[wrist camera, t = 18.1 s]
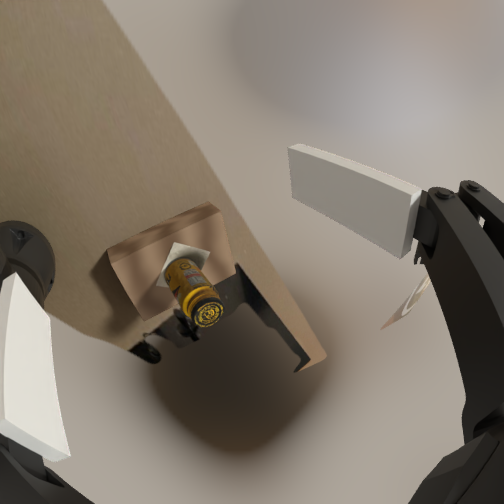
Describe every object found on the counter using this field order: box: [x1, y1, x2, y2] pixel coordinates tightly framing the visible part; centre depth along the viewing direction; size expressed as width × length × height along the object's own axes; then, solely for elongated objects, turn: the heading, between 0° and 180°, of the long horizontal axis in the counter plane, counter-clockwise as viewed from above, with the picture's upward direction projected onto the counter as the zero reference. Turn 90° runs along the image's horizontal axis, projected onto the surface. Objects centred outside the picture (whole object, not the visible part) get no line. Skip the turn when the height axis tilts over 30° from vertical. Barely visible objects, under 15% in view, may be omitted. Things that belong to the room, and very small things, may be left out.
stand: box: [107, 202, 236, 321], centre depth 51 cm, size 20×14×5 cm
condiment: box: [156, 242, 225, 327], centre depth 45 cm, size 7×8×12 cm
